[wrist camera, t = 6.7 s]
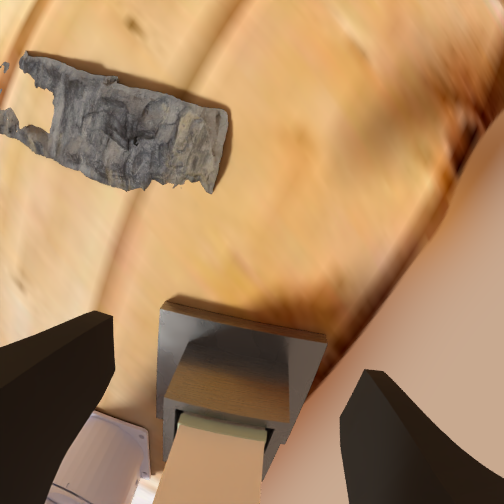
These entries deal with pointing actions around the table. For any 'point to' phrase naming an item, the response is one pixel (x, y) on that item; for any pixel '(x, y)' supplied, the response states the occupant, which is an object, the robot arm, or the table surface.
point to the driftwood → (120, 129)
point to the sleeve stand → (233, 372)
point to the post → (213, 463)
